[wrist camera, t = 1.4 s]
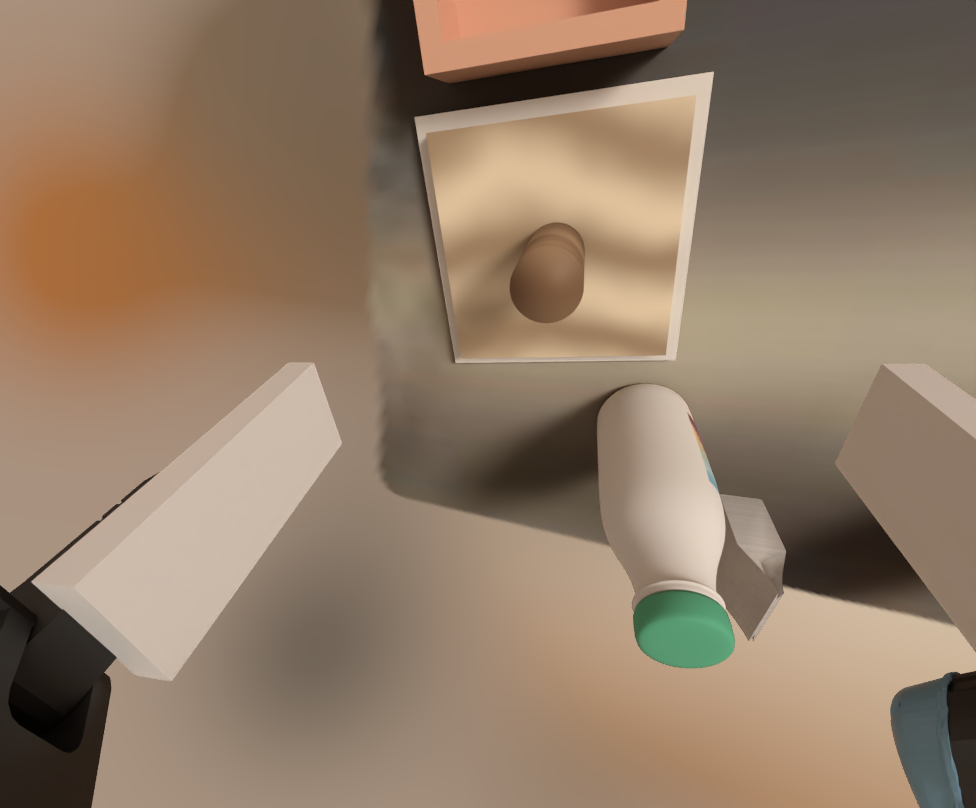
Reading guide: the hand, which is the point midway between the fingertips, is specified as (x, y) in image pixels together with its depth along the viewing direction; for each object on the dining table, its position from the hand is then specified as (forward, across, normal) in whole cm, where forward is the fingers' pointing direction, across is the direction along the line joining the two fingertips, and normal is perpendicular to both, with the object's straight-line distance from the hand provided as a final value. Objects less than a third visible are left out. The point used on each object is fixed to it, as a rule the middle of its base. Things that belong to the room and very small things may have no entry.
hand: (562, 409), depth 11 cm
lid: (+23, +1, +2) cm, 23 cm away
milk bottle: (+23, -6, +16) cm, 29 cm away
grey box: (+23, -16, +28) cm, 40 cm away
